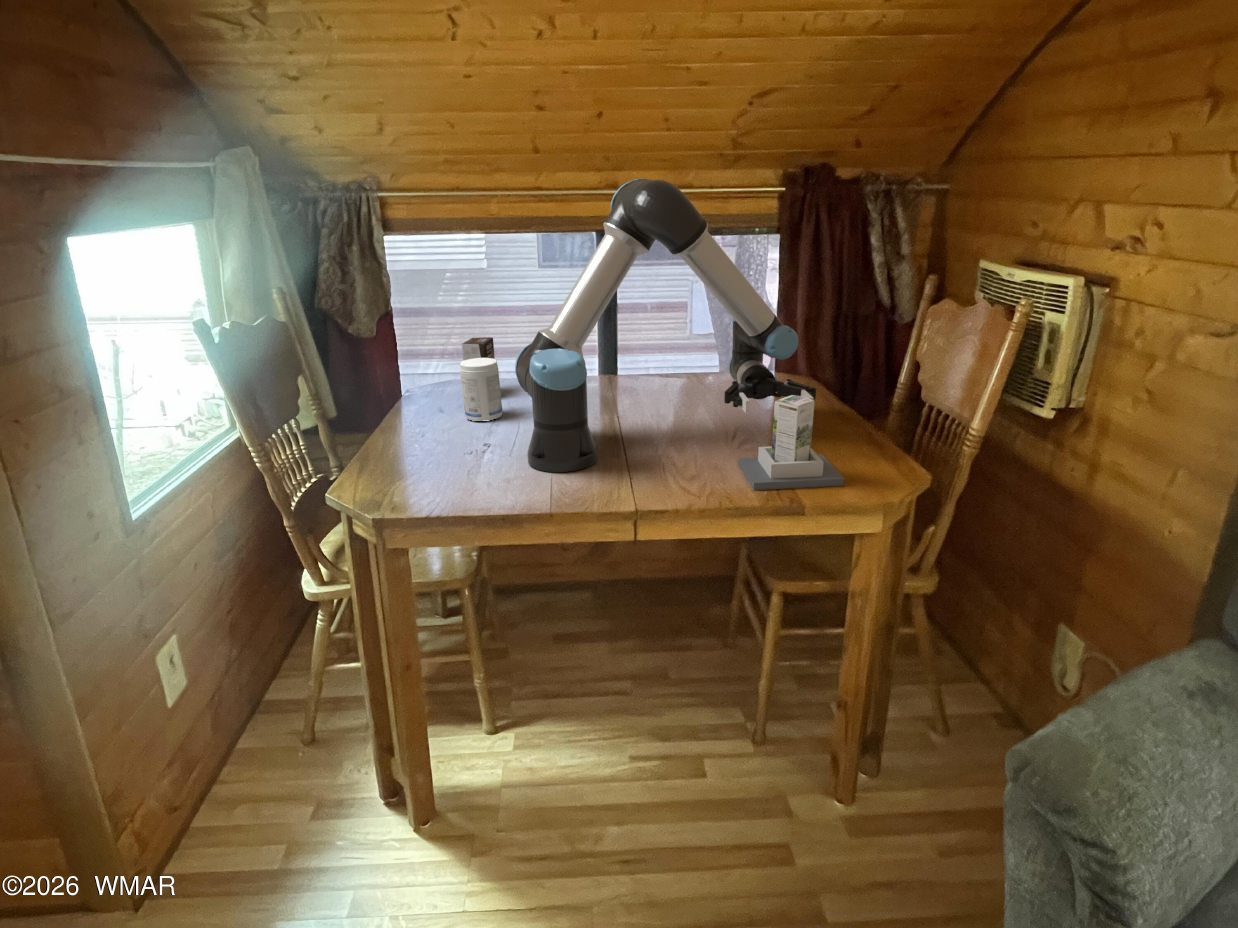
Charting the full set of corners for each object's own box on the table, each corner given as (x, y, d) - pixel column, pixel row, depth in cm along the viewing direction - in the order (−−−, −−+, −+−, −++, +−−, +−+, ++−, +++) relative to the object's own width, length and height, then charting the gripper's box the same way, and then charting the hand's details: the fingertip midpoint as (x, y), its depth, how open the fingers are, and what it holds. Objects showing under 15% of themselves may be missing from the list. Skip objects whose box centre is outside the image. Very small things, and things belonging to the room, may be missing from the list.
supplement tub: (498, 410, 210) (493, 355, 205) (506, 420, 201) (502, 363, 196) (461, 414, 207) (456, 359, 201) (468, 425, 198) (463, 367, 193)
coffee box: (488, 401, 218) (483, 343, 212) (466, 401, 219) (460, 343, 213) (498, 392, 226) (493, 336, 221) (476, 392, 227) (471, 336, 222)
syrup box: (786, 460, 165) (789, 393, 160) (810, 467, 161) (815, 399, 156) (769, 468, 161) (773, 399, 156) (794, 475, 157) (798, 405, 152)
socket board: (753, 490, 154) (754, 468, 153) (738, 465, 168) (738, 445, 166) (843, 485, 156) (845, 464, 154) (821, 461, 169) (822, 441, 167)
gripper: (807, 393, 188) (836, 420, 168) (703, 397, 186) (720, 425, 167) (809, 362, 185) (839, 385, 165) (703, 366, 184) (721, 390, 164)
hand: (779, 405), depth 166 cm, fingers open, 13 cm apart
